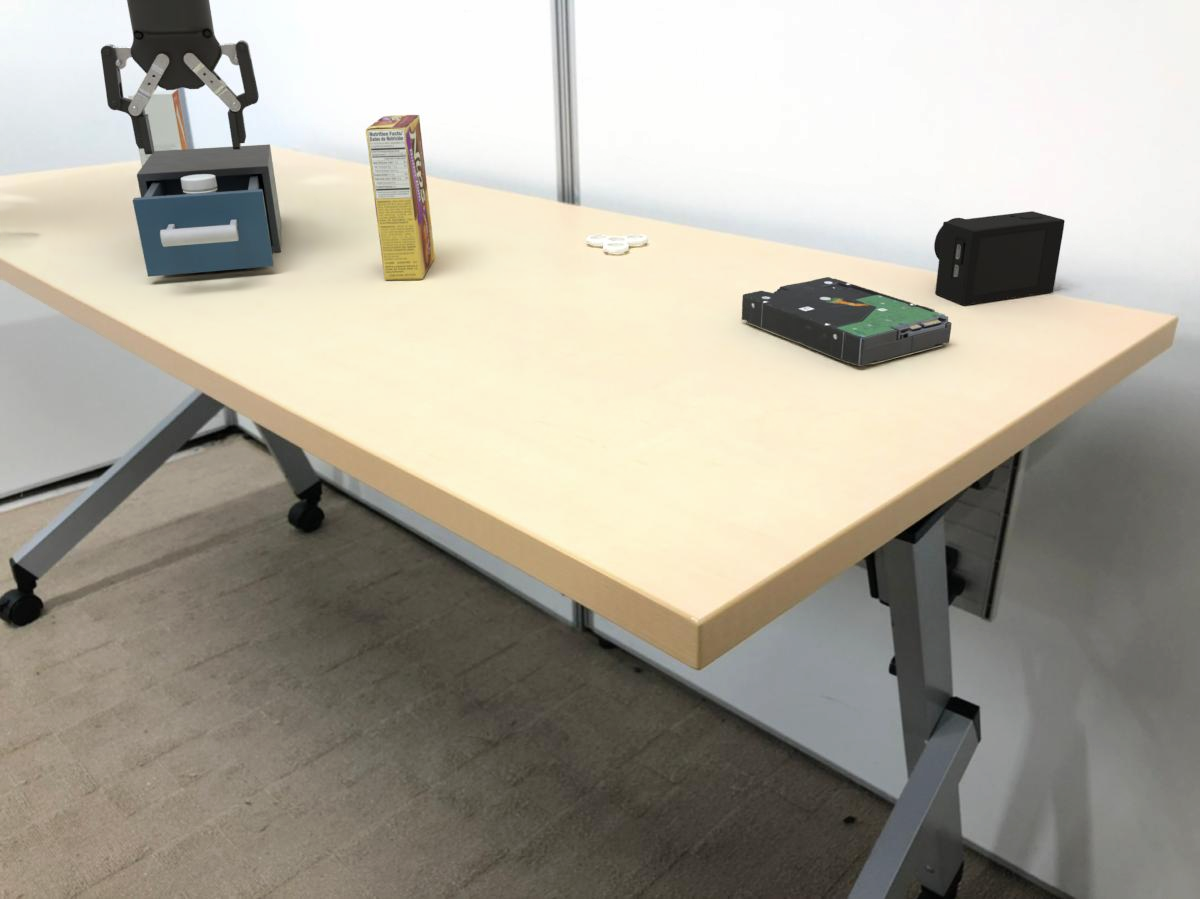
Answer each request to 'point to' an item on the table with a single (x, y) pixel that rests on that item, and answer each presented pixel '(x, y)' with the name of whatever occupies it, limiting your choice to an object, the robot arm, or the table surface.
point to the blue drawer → (204, 227)
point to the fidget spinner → (616, 242)
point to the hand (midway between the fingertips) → (193, 150)
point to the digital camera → (997, 257)
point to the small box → (164, 122)
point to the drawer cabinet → (219, 173)
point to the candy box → (401, 196)
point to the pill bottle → (199, 184)
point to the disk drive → (846, 320)
